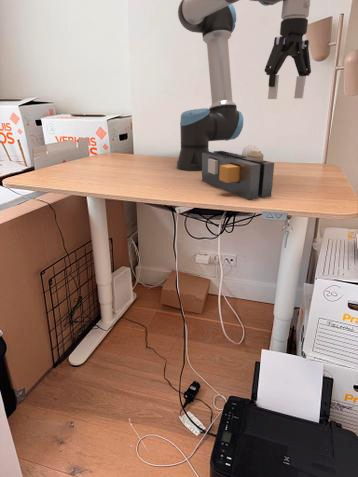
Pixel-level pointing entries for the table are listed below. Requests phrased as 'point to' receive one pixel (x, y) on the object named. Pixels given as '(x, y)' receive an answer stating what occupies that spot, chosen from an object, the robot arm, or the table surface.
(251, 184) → the dark grey button box
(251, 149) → the light bulb
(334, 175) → the table surface
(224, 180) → the orange button
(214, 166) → the white button
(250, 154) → the candle
